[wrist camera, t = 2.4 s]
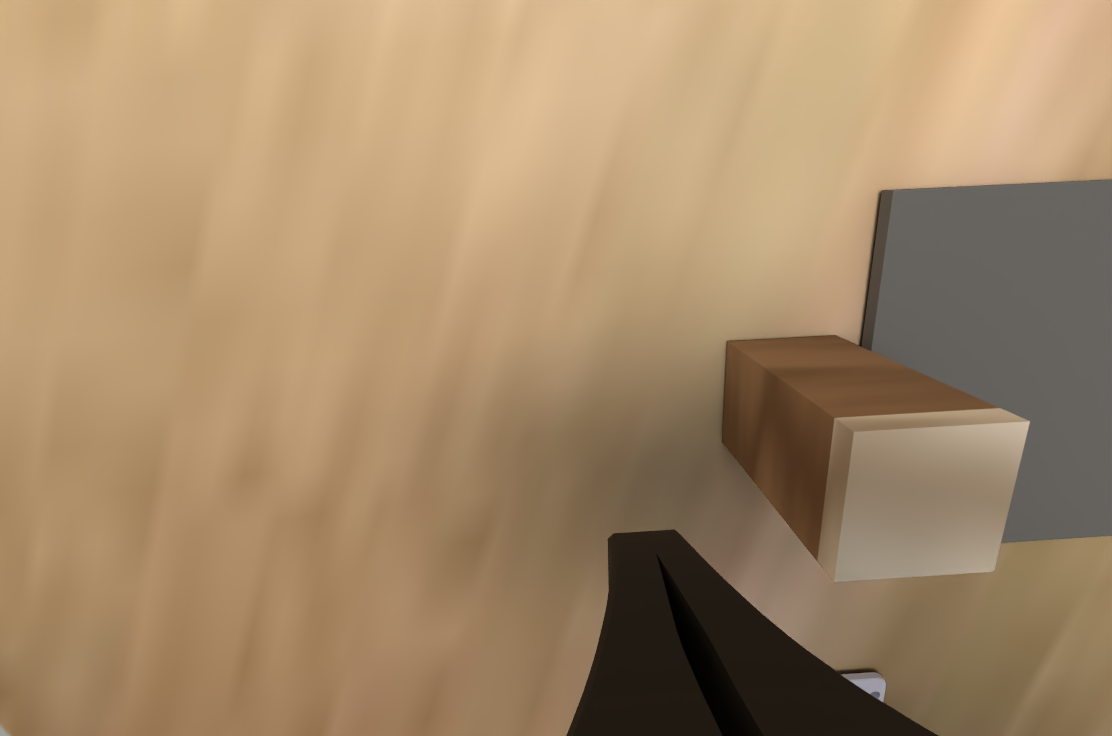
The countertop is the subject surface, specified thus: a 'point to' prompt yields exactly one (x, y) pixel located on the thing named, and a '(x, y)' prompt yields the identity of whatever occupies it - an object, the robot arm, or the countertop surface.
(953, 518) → the walnut block
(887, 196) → the rubber mat
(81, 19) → the countertop surface
